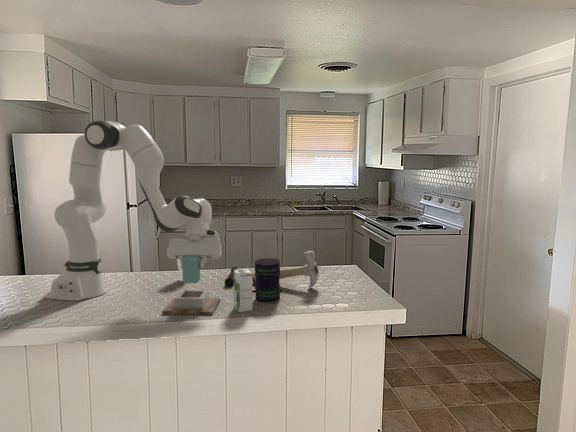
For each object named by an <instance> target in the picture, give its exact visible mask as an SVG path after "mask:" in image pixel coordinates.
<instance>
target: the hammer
mask: <svg viewBox="0 0 576 432" xmlns="http://www.w3.org/2000/svg"><path fill="white" fill-rule="evenodd" d="M315 257H316V253H315V252H314V250H307V251H305V252H303V253H302V258H303V261H305V262H306V264H304V265H303V266H297V267H288V268H280V276H279V280H282V279H286V278H293V277H298V276H304V277H309V287H308V289H307V291H309V290H311V288H313V287H314V286H316V284H317V282H318V280H319V277H320V272H319V268H318V264H317V262H316V261H315ZM252 283H254V284H256V276H255V271H253V272H252Z"/></svg>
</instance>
